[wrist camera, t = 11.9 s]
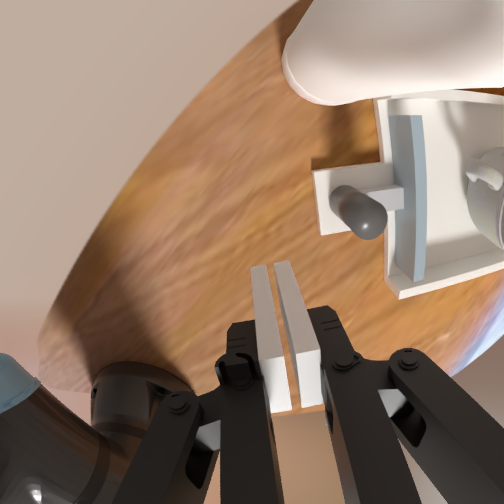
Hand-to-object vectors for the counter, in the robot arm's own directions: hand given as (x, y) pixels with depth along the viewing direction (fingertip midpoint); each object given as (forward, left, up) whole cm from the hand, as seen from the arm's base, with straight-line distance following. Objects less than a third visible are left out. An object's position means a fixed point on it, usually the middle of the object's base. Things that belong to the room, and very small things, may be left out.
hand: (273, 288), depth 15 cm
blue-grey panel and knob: (+11, 0, -13) cm, 17 cm away
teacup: (+25, 0, -14) cm, 29 cm away
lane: (+22, 0, -14) cm, 26 cm away
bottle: (+8, +13, -15) cm, 21 cm away
